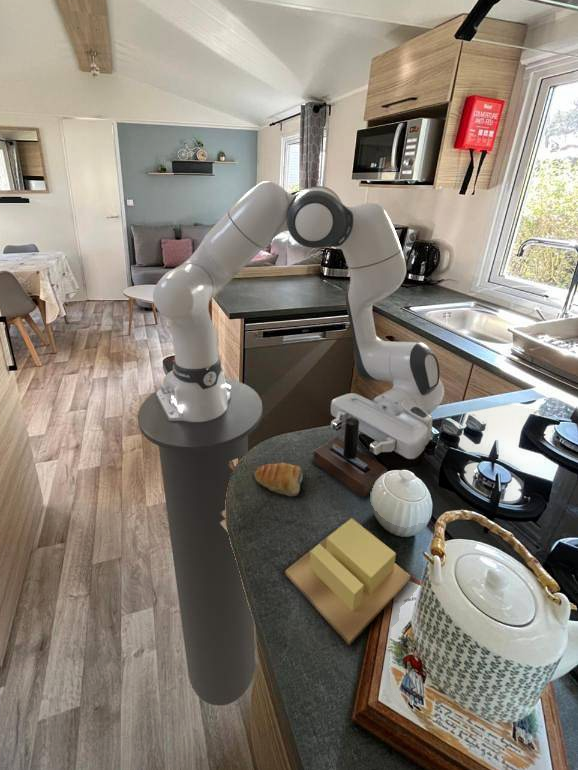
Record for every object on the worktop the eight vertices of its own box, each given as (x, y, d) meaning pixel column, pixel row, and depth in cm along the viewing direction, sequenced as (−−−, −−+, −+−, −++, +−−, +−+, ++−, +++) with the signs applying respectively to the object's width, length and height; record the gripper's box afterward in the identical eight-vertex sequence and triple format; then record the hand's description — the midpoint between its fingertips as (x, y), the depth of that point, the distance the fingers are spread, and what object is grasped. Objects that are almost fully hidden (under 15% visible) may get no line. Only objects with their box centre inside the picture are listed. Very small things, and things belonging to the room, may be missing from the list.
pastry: (250, 490, 73) (250, 474, 72) (258, 466, 80) (258, 451, 78) (299, 499, 71) (299, 483, 70) (303, 474, 77) (304, 459, 76)
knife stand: (313, 462, 80) (314, 450, 79) (336, 448, 84) (336, 436, 83) (362, 498, 71) (364, 485, 70) (385, 480, 75) (387, 468, 74)
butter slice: (309, 567, 58) (310, 551, 56) (318, 560, 59) (319, 543, 57) (352, 612, 52) (354, 594, 50) (362, 602, 53) (364, 585, 51)
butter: (325, 554, 60) (326, 537, 58) (350, 533, 63) (351, 517, 62) (369, 595, 54) (371, 577, 52) (393, 570, 57) (396, 553, 56)
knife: (329, 463, 80) (332, 414, 76) (337, 458, 81) (340, 409, 77) (360, 485, 74) (365, 433, 70) (368, 479, 75) (374, 428, 71)
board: (284, 574, 58) (285, 570, 57) (344, 525, 65) (345, 522, 65) (349, 645, 49) (349, 641, 48) (409, 579, 56) (410, 575, 56)
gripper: (354, 381, 90) (313, 401, 82) (440, 421, 74) (400, 451, 66) (352, 404, 92) (312, 426, 84) (435, 447, 76) (396, 479, 69)
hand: (352, 437), depth 75 cm, fingers open, 8 cm apart
